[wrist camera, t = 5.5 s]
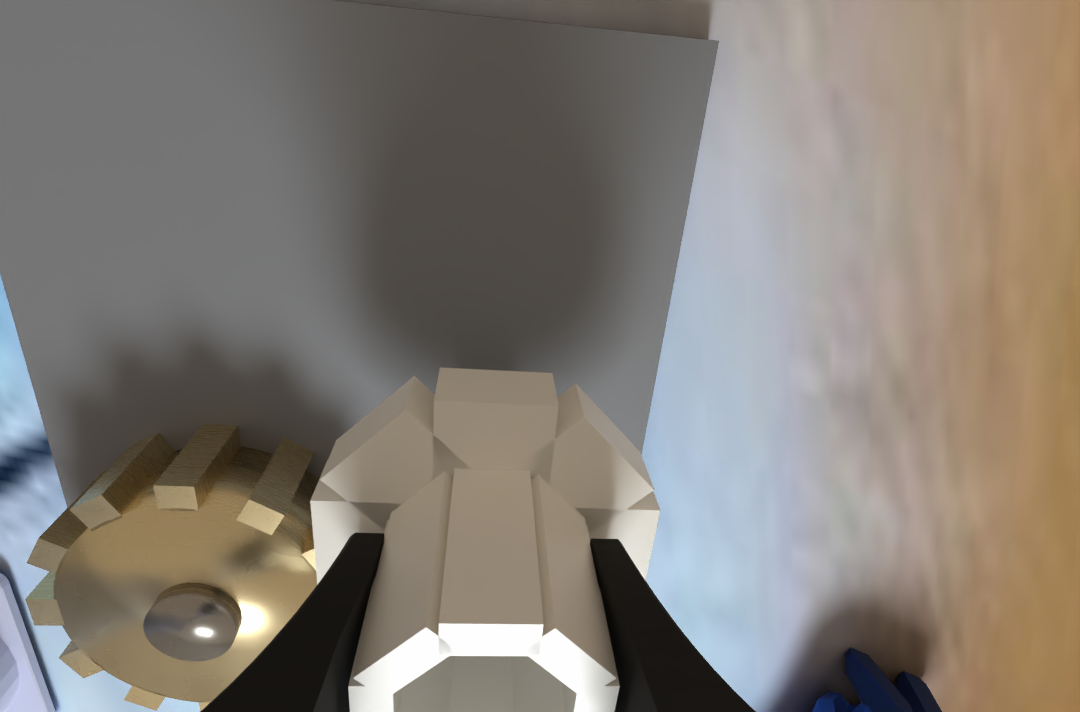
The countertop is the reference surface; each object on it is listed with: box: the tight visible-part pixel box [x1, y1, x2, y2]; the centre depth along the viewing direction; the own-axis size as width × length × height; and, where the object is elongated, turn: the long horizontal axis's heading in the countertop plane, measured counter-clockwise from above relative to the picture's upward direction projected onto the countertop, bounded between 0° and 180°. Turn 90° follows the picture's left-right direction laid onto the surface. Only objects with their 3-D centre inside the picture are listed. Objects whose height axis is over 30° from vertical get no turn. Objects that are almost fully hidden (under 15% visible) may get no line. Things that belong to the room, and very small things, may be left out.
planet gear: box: [310, 367, 660, 712], centre depth 13 cm, size 8×8×6 cm
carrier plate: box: [0, 0, 719, 507], centre depth 19 cm, size 18×22×1 cm
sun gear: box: [26, 424, 319, 711], centre depth 19 cm, size 9×9×4 cm
